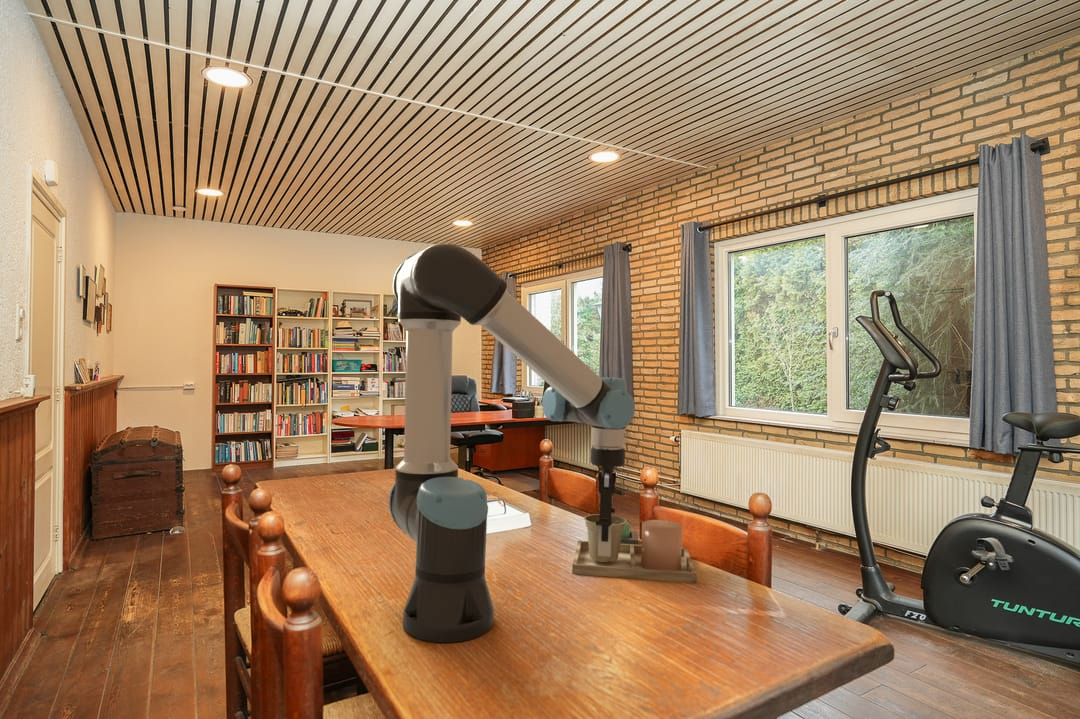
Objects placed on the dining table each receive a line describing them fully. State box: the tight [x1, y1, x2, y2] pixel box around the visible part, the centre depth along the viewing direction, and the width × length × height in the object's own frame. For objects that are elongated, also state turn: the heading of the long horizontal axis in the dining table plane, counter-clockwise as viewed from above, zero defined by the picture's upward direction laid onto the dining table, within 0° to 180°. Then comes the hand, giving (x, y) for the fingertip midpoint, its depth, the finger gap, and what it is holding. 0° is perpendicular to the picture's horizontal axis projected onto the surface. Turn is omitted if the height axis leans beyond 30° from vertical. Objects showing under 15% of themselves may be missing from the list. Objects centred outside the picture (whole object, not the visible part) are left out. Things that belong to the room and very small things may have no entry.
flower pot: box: [583, 513, 628, 562], centre depth 132 cm, size 9×9×9 cm
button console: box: [620, 530, 640, 545], centre depth 147 cm, size 8×8×3 cm
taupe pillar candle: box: [640, 519, 683, 571], centre depth 131 cm, size 9×9×9 cm
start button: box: [622, 521, 631, 538], centre depth 147 cm, size 4×4×5 cm
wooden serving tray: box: [571, 540, 698, 584], centre depth 132 cm, size 18×25×3 cm
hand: (604, 548), depth 132 cm, fingers closed on flower pot, 9 cm apart
